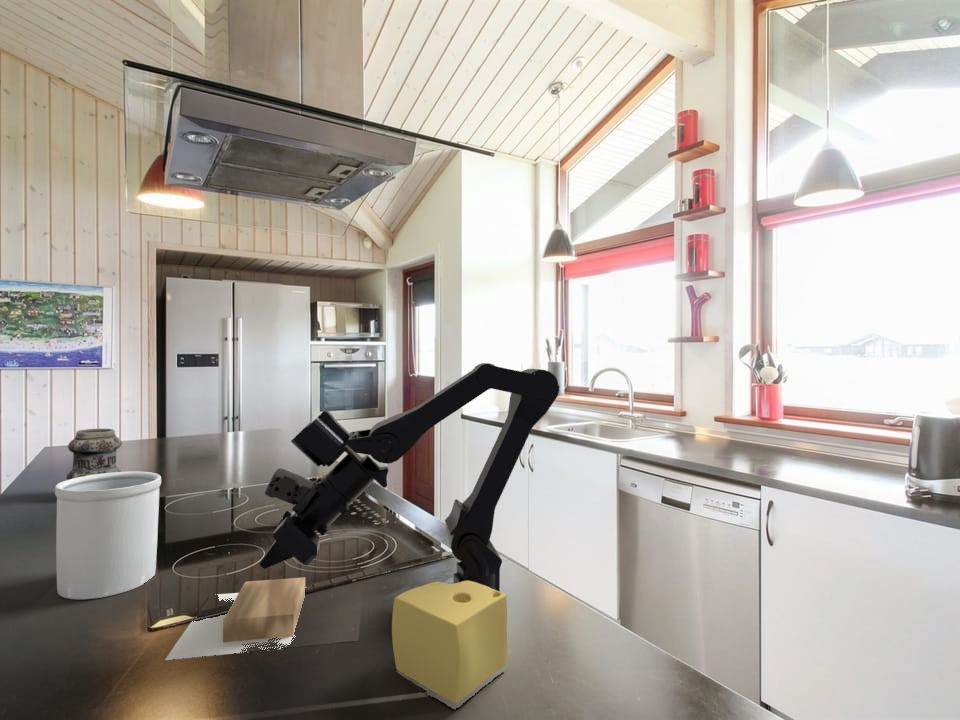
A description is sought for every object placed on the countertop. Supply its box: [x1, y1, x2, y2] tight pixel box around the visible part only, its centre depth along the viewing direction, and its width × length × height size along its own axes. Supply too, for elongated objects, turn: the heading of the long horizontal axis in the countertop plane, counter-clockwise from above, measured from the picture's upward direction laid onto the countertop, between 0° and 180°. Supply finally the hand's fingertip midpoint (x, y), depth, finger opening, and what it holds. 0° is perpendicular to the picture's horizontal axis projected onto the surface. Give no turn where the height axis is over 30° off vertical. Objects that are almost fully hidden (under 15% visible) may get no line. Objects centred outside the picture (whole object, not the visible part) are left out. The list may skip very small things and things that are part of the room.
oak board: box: [223, 576, 306, 642], centre depth 76 cm, size 3×12×9 cm
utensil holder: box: [54, 470, 162, 600], centre depth 88 cm, size 15×15×18 cm
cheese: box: [391, 581, 508, 703], centre depth 63 cm, size 10×11×10 cm
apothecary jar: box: [66, 428, 123, 480], centre depth 141 cm, size 12×12×18 cm
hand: (262, 565), depth 76 cm, fingers closed
